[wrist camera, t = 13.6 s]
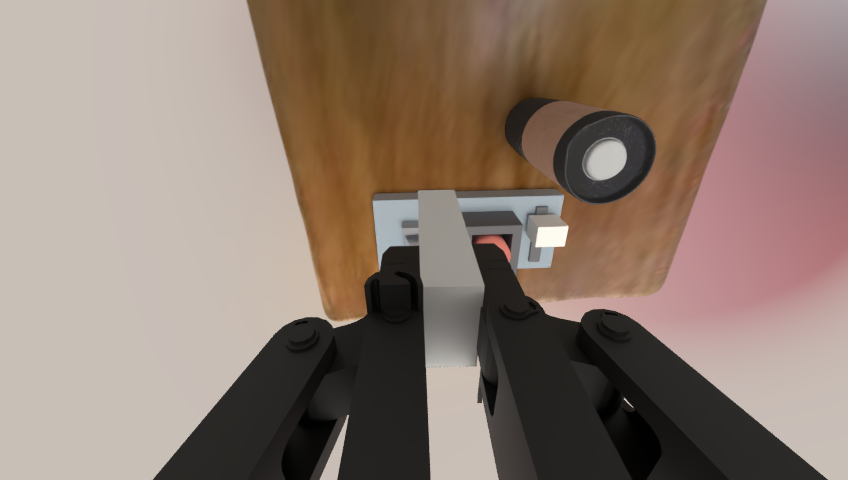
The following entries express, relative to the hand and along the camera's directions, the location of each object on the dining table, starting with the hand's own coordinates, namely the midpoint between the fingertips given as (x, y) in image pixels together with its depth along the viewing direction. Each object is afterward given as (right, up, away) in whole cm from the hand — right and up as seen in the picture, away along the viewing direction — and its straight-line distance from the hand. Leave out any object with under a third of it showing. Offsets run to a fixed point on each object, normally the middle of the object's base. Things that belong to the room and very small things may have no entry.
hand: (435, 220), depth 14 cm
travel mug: (+14, +15, +30) cm, 37 cm away
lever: (-2, -1, +33) cm, 33 cm away
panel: (+6, +1, +37) cm, 37 cm away
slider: (+16, +1, +33) cm, 37 cm away
